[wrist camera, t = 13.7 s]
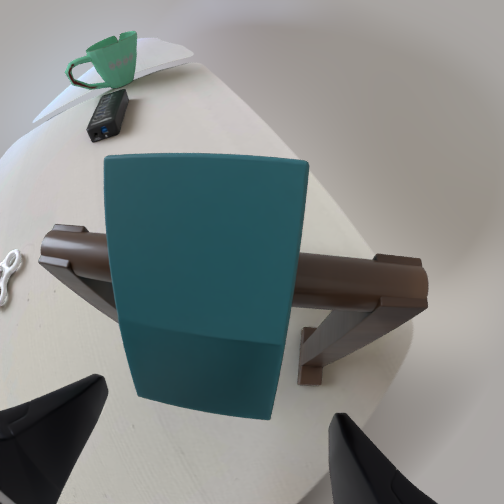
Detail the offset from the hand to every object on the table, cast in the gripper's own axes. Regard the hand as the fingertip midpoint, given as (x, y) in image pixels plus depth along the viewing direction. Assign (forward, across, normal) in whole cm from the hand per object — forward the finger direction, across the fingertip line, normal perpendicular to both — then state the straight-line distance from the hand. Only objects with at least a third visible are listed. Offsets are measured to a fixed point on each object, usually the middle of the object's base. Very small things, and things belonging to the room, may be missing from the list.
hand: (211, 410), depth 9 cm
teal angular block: (+11, 0, -6) cm, 13 cm away
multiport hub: (+29, +24, -17) cm, 41 cm away
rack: (+9, 0, +4) cm, 10 cm away
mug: (+38, +31, -25) cm, 55 cm away
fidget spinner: (+10, +27, +3) cm, 29 cm away
